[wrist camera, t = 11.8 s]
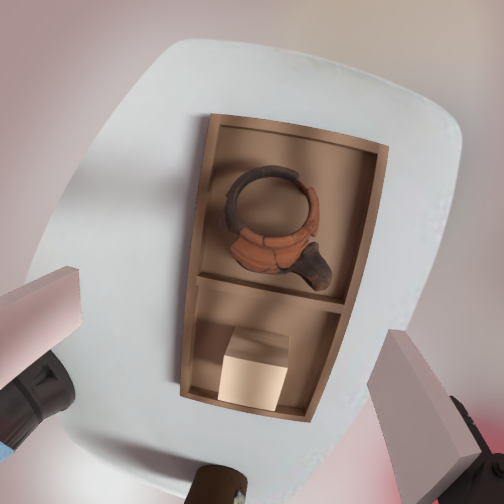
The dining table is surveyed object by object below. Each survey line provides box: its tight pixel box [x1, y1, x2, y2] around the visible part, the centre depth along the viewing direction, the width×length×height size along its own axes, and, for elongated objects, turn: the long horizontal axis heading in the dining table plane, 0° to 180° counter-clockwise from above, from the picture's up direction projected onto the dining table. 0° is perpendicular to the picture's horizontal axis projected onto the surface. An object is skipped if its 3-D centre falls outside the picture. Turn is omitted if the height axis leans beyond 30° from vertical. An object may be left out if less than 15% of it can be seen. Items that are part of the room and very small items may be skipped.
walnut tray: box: [180, 114, 389, 423], centre depth 30 cm, size 17×33×2 cm, turn 171°
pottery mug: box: [219, 165, 333, 292], centre depth 26 cm, size 12×10×8 cm
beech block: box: [218, 326, 289, 411], centre depth 29 cm, size 6×6×6 cm
